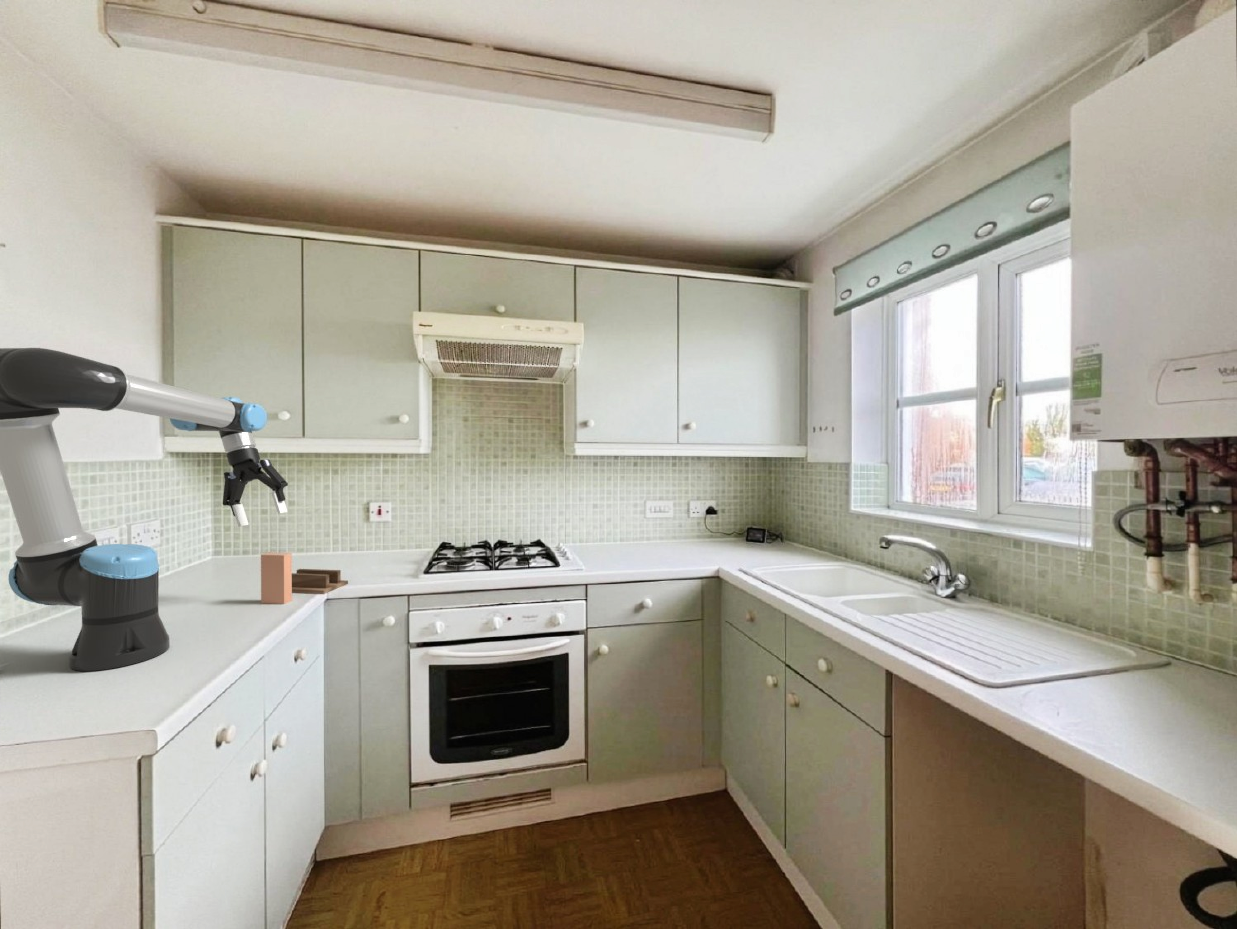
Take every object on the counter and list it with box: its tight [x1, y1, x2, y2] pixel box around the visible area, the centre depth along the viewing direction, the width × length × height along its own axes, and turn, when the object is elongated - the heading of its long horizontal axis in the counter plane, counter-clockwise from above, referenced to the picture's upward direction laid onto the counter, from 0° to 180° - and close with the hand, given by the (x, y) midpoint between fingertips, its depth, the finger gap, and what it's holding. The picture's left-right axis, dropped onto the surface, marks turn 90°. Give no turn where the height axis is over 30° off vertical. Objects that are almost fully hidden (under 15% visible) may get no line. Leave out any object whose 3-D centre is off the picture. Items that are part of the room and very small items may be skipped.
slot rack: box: [292, 568, 349, 595], centre depth 160 cm, size 12×16×5 cm
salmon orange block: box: [260, 552, 293, 605], centre depth 145 cm, size 3×7×14 cm, turn 86°
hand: (263, 519), depth 147 cm, fingers open, 13 cm apart
